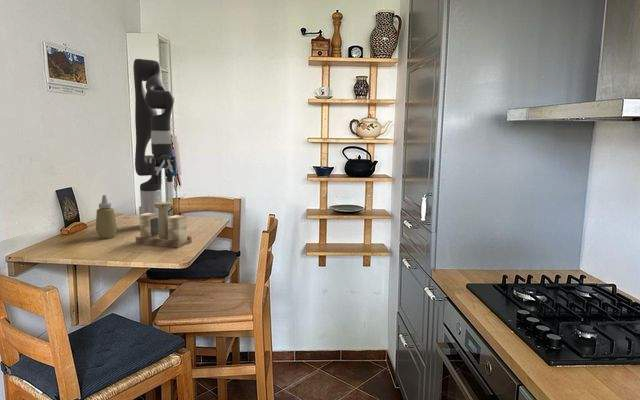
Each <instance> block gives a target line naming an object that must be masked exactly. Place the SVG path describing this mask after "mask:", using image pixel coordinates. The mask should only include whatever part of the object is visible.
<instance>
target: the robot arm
mask: <svg viewBox="0 0 640 400" xmlns="http://www.w3.org/2000/svg"><path fill="white" fill-rule="evenodd" d="M132 68H133V70H132V71H133V79H134V80H133V81H134V83H133V84H134V96H135V97H134V98H135V99H134V101H135V102H134V104H135V108H134V109H135V110H134V111H135V113H134V118H135V119H134V120H135V123H134V124H135V155H134V156H135V158H134V169H135V172H136V174H137V176H140V177H145V176H146V177H147V176H149V177H150V176H151V177H150V178H149V179H148V180H146V181H145V182H142V183H140V185H139V193H140V205H139V207H138V210H139V211H138V213H139V214H138V216H139V215H141V214H145V213H156V214H158V215H159V211H158V208H156V207H155V206H154V203H157V202H163V198H162V183H163V182H162V178H163V177H162V174H163V173H162V169H164V170H165V171H166V182H167V183H172V182H173V180H174V179H173V173H174V172H175V171H176V170H177V164H176V156H174V155H173V156H172V153H173V150H172V149H173V148H172V147H173V146H172V134H171V116H172V111H173V108H174V103H175V96H174V94H173V93H172V91H170V90H166V87H165V86H164V82H163V73H162V67H161V64H160V62H158V60H154V59H145V58H144V59H143V58H136V59H134V61H133V67H132ZM143 82H145V88H144V85H143ZM145 89H146V91H145ZM157 110H164V111H163V112H162V113H161V114H158V112H157ZM150 141H151V144H150V145H151V149H150V150H151V155H150V154H149V155H147V154H146V149H147V146H148V144H149V142H150Z"/></svg>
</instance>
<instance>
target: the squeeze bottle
mask: <svg viewBox="0 0 640 400" xmlns="http://www.w3.org/2000/svg"><path fill="white" fill-rule="evenodd" d="M95 216H96V217H95V218H96V219H95V231H96V233H97V234H98V237H99V239H104V238H105V239H111V238H115V237H116V233H117V231H118V227H117V226H118V225H117V219H116V215H115V210H114V208H112V203H111V202H109V201H108V198H107V194H103V195H102V197H101V202H100V203H98V208H97V209H96V215H95Z"/></svg>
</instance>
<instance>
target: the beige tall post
mask: <svg viewBox="0 0 640 400" xmlns="http://www.w3.org/2000/svg"><path fill="white" fill-rule="evenodd" d="M154 206H155V207H156V208H158V211H159V215H158V230H159V236H160V239H165V240H167V239H168V217H169V215H168V214H169V213H168V208H170V207H171V206H172V202H171V201H170V202H169V201H162V202H157V203H154Z"/></svg>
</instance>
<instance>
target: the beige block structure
mask: <svg viewBox="0 0 640 400" xmlns="http://www.w3.org/2000/svg"><path fill="white" fill-rule="evenodd" d="M138 216H139V217H138V219H139V220H138V221H139V234H140V235H139V236H135V237H134V238H135V244H139V245H140V244H142V245H151V246H159V247H168V248H177V249H178V248H182V247H184V246H186V245H188V244H190V243H192V236H189V235H188V234H187V233H188V231H187V229H188V228H187V215H178V214H175V215H172V216H168V239H167V240H165V239H160V236H159V230H158V214H156V213H145V214H141V215H139V214H138Z"/></svg>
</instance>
